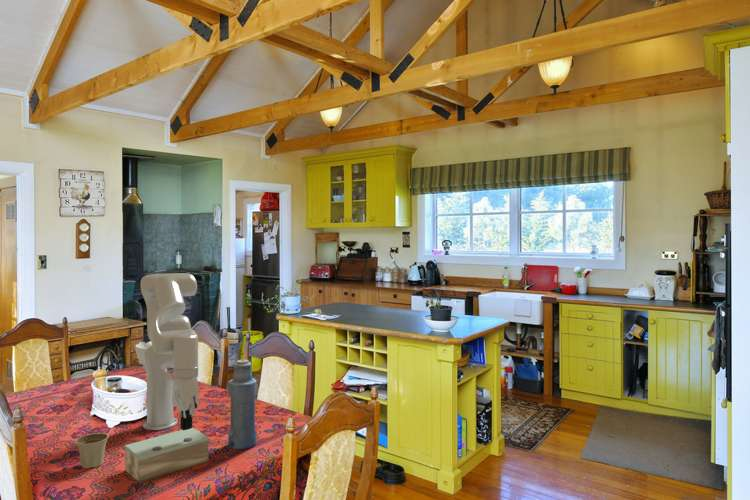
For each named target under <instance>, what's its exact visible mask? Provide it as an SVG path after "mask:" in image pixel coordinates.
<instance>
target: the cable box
mask: <svg viewBox="0 0 750 500" xmlns="http://www.w3.org/2000/svg"><path fill="white" fill-rule="evenodd" d="M209 460H210V459H209V440H207V441H204V442H201V443H197V444H194V445H191V446H187V447H184V448H180V449H177V450H174V451H170V452H167V453H164V454H160V455H157V456H153V457H150V458H147V459H143V460H139V459H137V458H136V457H135V456H134V455H132V454H131V453H130V452H129V451H127V450H126V449H125V448H124V463H125V464H124V466H125V467H124V468H125V472H127V474H128V475H130V476H131V478H133V479H134V480H136V482H137V483H139V484H141V483H145V482H147V481H150V480H154V479H157V478H160V477H163V476H165V475H166V476H167V475H169V474H172V473H175V472H178V471H181V470H184V469H188V468H190V467H194V466H197V465H200V464H203V463H205V462H209Z"/></svg>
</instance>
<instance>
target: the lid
mask: <svg viewBox="0 0 750 500" xmlns="http://www.w3.org/2000/svg"><path fill="white" fill-rule="evenodd" d="M207 440H208V441H209V440H210V437H209V436H207V434H205V433H203V432H201V431H199V430H198V429H196V428H194V427H192V428H191V429H188V430H184V431H183V430H182V429H180V430H177V431H173V432H169V433H166V434H162V435H158V436H154V437H150V438H148V439H143V440H140V441H136V442H132V443H129V444H126V445H124V450H125V449H126V450H127V451H129V452H130V453H131V454H132V455H134V456H135V457H136V458H137V459H139V460H143V459H147V458H150V457H153V456H157V455H160V454H164V453H167V452H170V451H174V450H177V449H180V448H184V447H187V446H191V445H194V444H197V443H201V442H204V441H207Z"/></svg>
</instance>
